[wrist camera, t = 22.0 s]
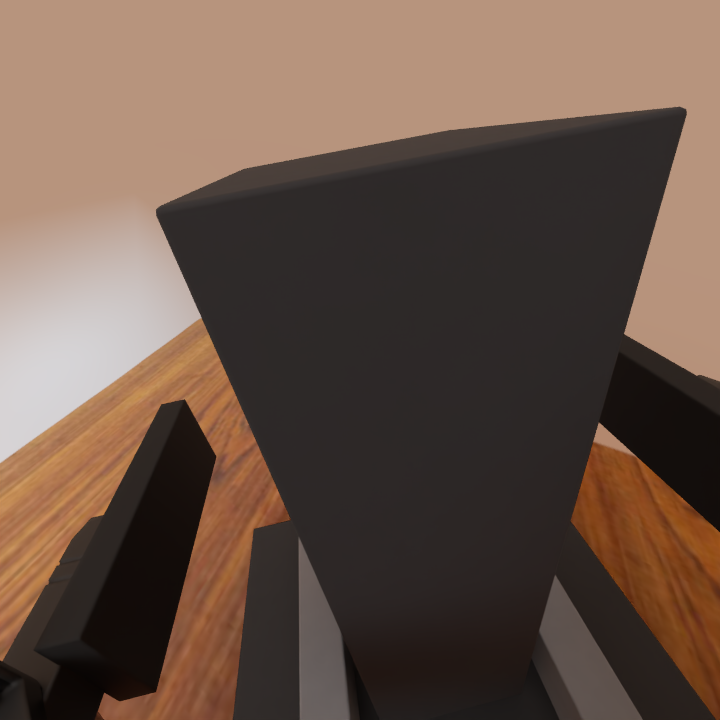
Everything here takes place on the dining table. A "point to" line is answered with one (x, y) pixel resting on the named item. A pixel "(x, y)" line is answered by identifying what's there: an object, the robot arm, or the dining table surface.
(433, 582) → the standing block
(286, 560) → the base pad
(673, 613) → the dining table surface
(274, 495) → the dining table surface
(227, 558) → the dining table surface
